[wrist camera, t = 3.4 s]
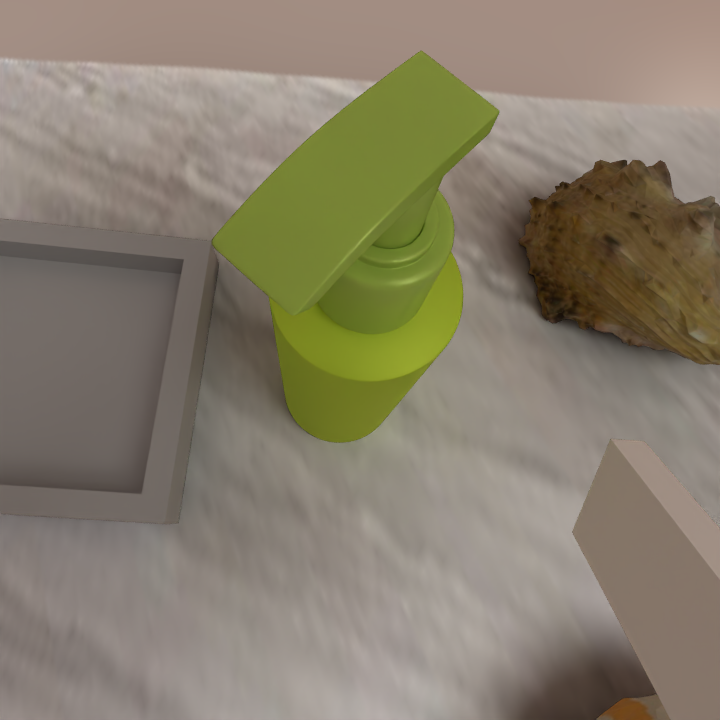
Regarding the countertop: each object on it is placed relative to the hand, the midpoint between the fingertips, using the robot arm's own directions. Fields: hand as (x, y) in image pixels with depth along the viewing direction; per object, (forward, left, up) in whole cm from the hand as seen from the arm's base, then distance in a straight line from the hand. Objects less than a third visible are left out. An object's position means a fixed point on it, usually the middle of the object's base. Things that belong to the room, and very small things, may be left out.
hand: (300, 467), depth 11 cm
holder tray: (+13, -5, -16) cm, 21 cm away
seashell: (-18, -13, -16) cm, 28 cm away
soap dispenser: (-1, -5, -16) cm, 17 cm away
